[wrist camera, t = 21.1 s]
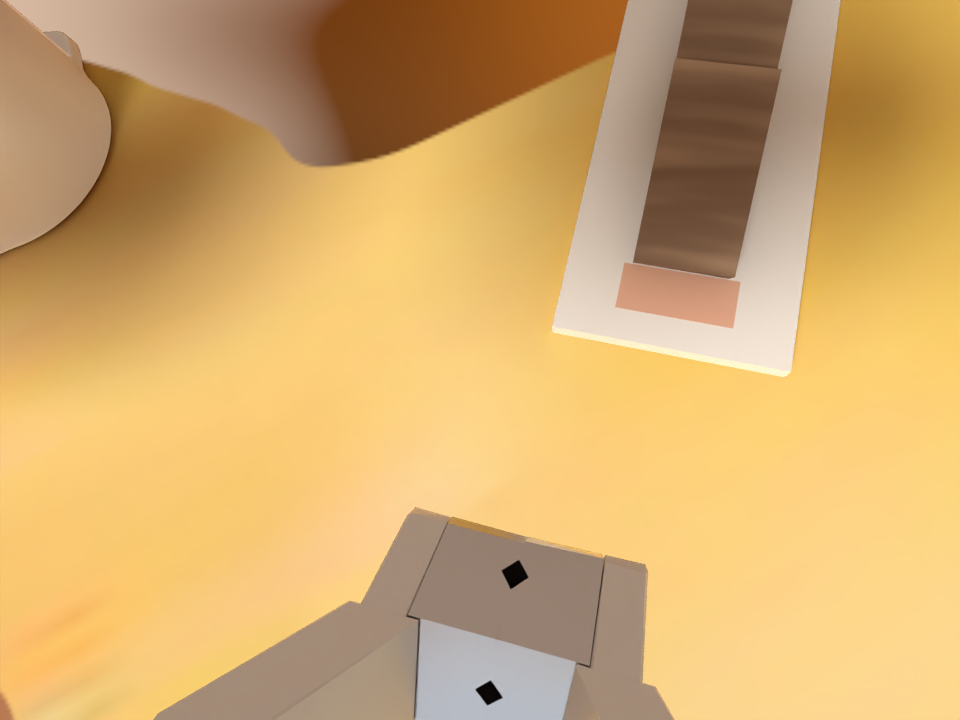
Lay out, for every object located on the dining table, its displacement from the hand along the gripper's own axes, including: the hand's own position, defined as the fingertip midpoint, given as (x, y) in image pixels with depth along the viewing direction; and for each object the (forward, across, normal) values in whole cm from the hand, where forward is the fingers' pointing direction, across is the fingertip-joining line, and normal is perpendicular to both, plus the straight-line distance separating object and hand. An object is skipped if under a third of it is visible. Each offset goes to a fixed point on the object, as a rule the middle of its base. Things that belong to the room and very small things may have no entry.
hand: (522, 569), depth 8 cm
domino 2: (+27, +3, -6) cm, 28 cm away
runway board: (+35, +4, -1) cm, 35 cm away
